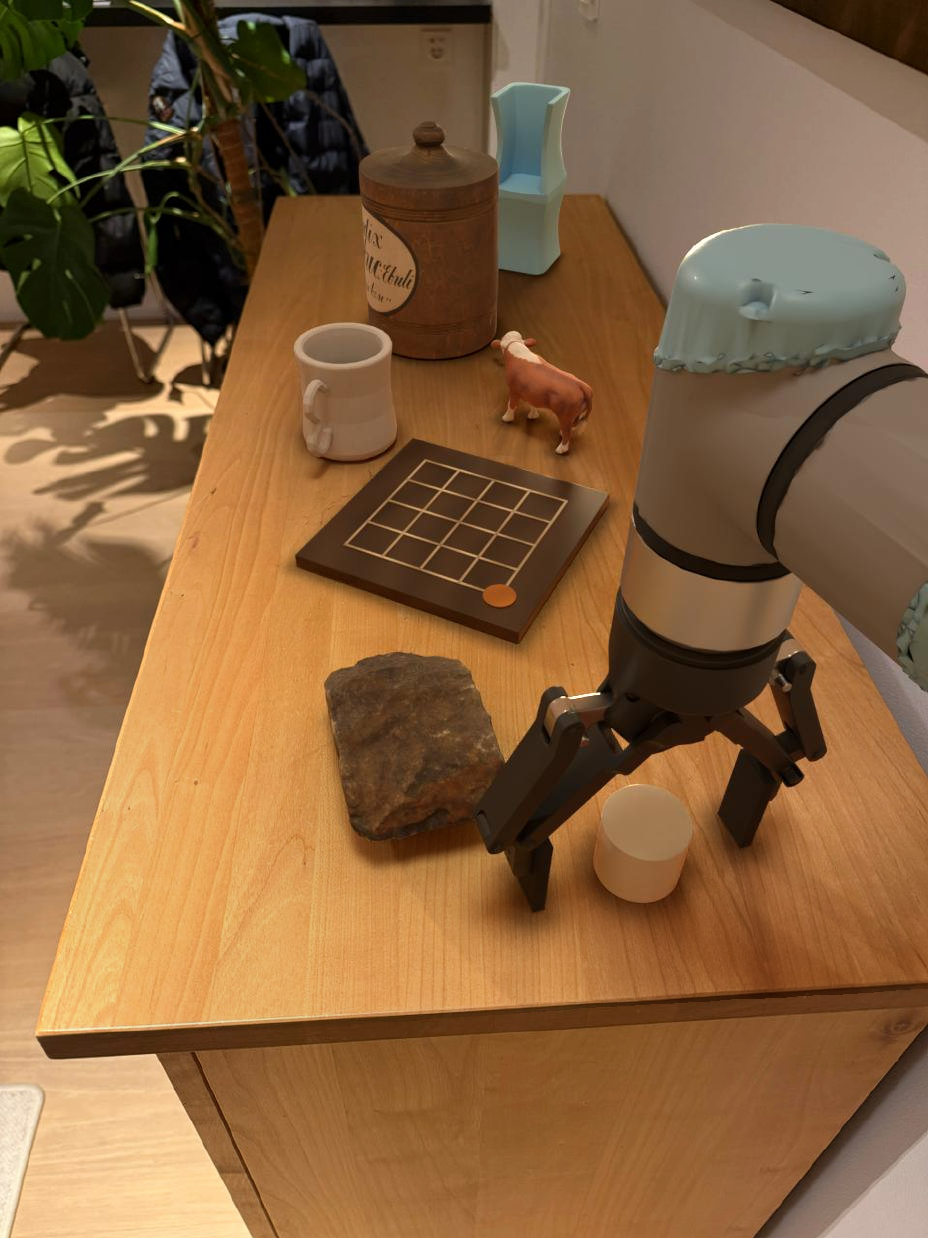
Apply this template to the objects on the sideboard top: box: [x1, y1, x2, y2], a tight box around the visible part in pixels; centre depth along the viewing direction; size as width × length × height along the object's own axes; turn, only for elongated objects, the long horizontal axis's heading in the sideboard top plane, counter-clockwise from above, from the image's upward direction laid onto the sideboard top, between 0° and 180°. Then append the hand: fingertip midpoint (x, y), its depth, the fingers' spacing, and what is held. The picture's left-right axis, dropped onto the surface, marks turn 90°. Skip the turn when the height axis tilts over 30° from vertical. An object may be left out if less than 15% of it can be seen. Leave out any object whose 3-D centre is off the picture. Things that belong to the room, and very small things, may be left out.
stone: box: [323, 651, 507, 843], centre depth 58 cm, size 10×14×6 cm
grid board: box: [294, 437, 611, 644], centre depth 78 cm, size 20×20×1 cm
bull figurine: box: [490, 330, 594, 455], centre depth 88 cm, size 4×13×8 cm, turn 36°
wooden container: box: [358, 120, 499, 360], centre depth 99 cm, size 15×15×22 cm
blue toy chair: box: [489, 81, 571, 276], centre depth 115 cm, size 8×8×20 cm
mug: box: [293, 322, 398, 462], centre depth 85 cm, size 12×9×10 cm
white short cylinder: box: [592, 783, 694, 904], centre depth 53 cm, size 5×5×4 cm
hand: (634, 860), depth 55 cm, fingers open, 13 cm apart
